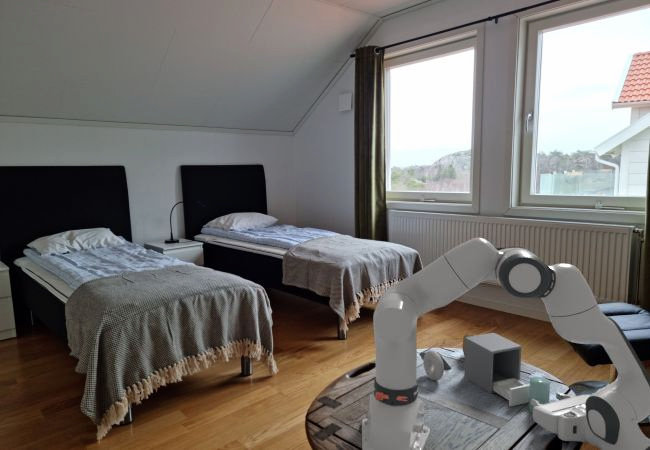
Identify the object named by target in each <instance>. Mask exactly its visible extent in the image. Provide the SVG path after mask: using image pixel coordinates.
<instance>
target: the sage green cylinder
mask: <svg viewBox="0 0 650 450" xmlns="http://www.w3.org/2000/svg"><path fill="white" fill-rule="evenodd" d="M529 384H530V389H529V402H528V411H529V412H530V413H531V414H533V407H534V406H533V405H531V399H534V398H536V399H538V400H540V403H539V404H547V403H550V394H551V391H550V390H551V381H550V380H549V379H547V378H546V377H542V376H537V375H536V376H531V377H530V378H529Z"/></svg>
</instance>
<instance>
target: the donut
mask: <svg viewBox="0 0 650 450" xmlns="http://www.w3.org/2000/svg"><path fill="white" fill-rule="evenodd" d="M425 352H426V354H425V356H424V360H423V359H422V361H423V368H424V371H425V374H426V376H427V377H428V379H430V380H431V381H436V382H437V381H439V380H441V378H443V375H444V371H445V370H444V365H443V361H442V358H441V357H440V355H441V354H440V353H439V352H438V351H435V350H433V349H431V350H428V351H425ZM437 352H438V353H439V354H440V355H439V354H438V353H437Z"/></svg>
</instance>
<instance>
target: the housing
mask: <svg viewBox="0 0 650 450" xmlns="http://www.w3.org/2000/svg"><path fill="white" fill-rule="evenodd" d="M476 335H477V336H471V337H465V356H464V370H463V371H464V375H463V376H464V377H465V378H466V379H468V380H469V381H471V382H473V383H474V384H475V385H476V386H478V387H480V388H481V389H483V390H484V391H485V392H487V393H489V394H494V393H496V392H495V391H494V390H492V382H496V381H501V380H506V379H510V378H516V379H517V380H519V381H521V368H522V367H521V366H522V364H521V363H522V345H520V344H518V343H516V342H515V341H514V342H513V341H512V340H510V339H507V338H506V337H503V335H502V336H501V335H500V334H497V333H495V332H490V333H489V332H488V333H484V334H476Z"/></svg>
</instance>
